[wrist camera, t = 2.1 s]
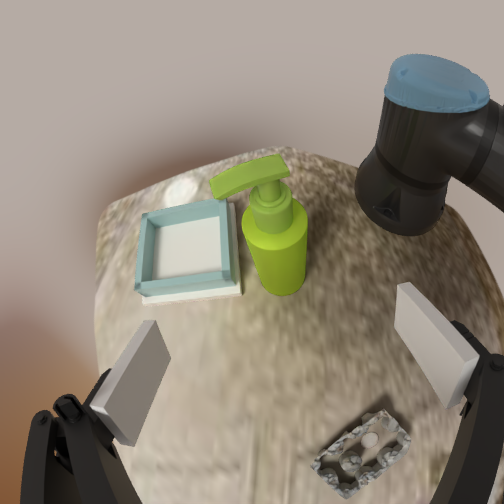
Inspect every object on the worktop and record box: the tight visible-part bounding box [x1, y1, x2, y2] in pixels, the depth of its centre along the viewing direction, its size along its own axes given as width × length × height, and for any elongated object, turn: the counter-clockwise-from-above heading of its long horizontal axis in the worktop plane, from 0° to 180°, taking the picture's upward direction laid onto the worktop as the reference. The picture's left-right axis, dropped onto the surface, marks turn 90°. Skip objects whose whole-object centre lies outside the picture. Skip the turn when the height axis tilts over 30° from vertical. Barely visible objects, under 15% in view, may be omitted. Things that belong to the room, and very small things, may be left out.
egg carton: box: [311, 408, 411, 499], centre depth 23 cm, size 11×8×4 cm
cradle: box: [134, 198, 242, 307], centre depth 37 cm, size 14×14×4 cm
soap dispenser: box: [209, 154, 308, 296], centre depth 27 cm, size 6×7×20 cm
